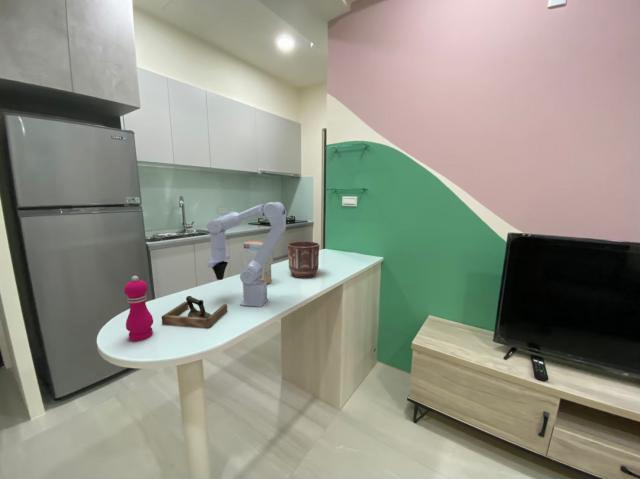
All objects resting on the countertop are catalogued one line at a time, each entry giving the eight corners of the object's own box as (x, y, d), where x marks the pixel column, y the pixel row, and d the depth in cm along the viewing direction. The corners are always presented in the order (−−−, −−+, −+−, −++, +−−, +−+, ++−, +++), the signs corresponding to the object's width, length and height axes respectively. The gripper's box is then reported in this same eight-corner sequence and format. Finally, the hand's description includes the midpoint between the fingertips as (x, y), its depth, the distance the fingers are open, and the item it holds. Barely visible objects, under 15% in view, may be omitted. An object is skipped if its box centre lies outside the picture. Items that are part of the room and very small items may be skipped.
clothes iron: (196, 327, 92) (188, 300, 91) (182, 325, 99) (174, 299, 98) (215, 318, 97) (207, 292, 96) (200, 316, 104) (193, 292, 103)
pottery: (305, 268, 164) (305, 240, 161) (325, 275, 151) (325, 244, 148) (282, 274, 152) (281, 243, 149) (301, 282, 139) (300, 248, 136)
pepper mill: (136, 330, 88) (129, 272, 85) (158, 330, 89) (153, 272, 85) (121, 342, 81) (114, 279, 78) (146, 341, 81) (140, 279, 78)
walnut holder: (227, 311, 103) (226, 304, 103) (209, 328, 90) (208, 320, 90) (185, 308, 105) (185, 301, 105) (162, 324, 92) (161, 316, 92)
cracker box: (272, 282, 137) (271, 243, 134) (263, 286, 132) (262, 244, 129) (252, 278, 145) (251, 240, 141) (244, 280, 140) (243, 241, 136)
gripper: (218, 244, 117) (219, 273, 120) (199, 251, 103) (201, 284, 106) (233, 244, 117) (234, 274, 119) (216, 251, 102) (218, 285, 105)
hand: (220, 279), depth 112 cm, fingers closed
